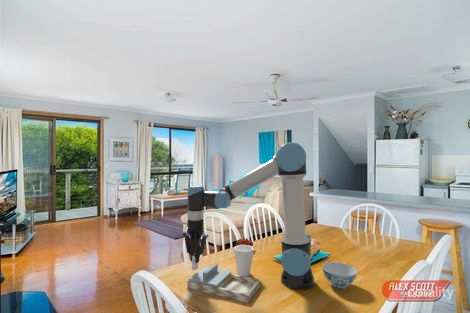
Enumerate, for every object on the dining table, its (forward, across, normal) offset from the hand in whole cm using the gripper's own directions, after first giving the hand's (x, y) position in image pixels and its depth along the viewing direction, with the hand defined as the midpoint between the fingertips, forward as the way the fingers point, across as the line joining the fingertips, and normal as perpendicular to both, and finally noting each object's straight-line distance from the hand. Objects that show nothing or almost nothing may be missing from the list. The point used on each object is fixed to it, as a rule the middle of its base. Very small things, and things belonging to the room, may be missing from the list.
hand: (194, 269), depth 128 cm
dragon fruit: (+6, -6, -48) cm, 48 cm away
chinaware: (+6, -62, -24) cm, 67 cm away
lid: (+2, -8, -1) cm, 8 cm away
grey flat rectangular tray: (+6, -15, 0) cm, 16 cm away
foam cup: (+6, -18, -16) cm, 25 cm away
